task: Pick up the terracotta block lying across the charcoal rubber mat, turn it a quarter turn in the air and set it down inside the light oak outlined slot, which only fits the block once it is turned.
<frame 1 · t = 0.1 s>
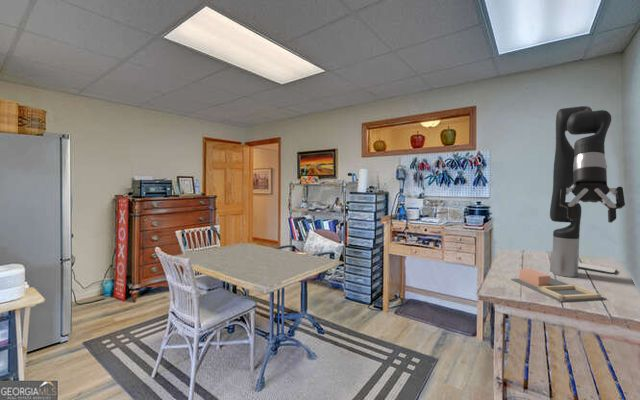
hand: (590, 221, 87), 31 cm above the table, tool tilted 20°, fingers open, 8 cm apart
mat: (554, 288, 117), on the table
terracotta block: (534, 283, 123), resting on mat
phone case: (592, 270, 142), on the table
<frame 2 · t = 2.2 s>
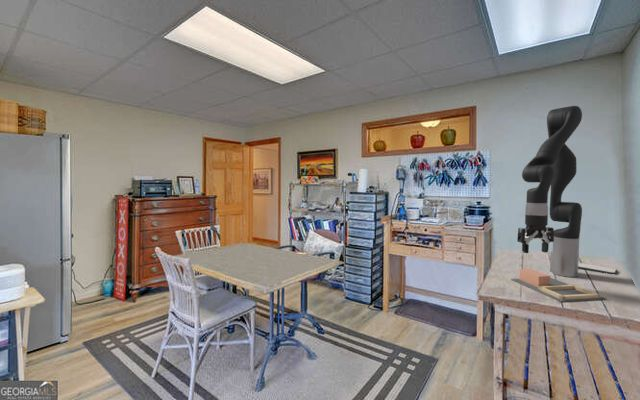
hand: (535, 252, 122), 13 cm above the table, tool pointing down, fingers open, 8 cm apart
nothing on the table moved.
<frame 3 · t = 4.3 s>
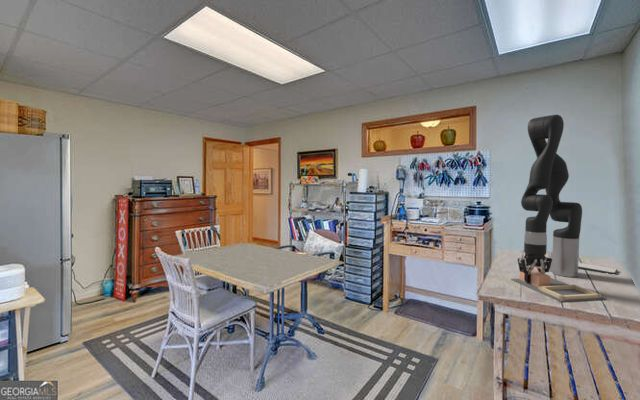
hand: (533, 282, 123), 1 cm above the table, tool pointing down, fingers closed on terracotta block, 5 cm apart
terracotta block: (534, 283, 123), resting on mat, touching gripper
everything else where it was.
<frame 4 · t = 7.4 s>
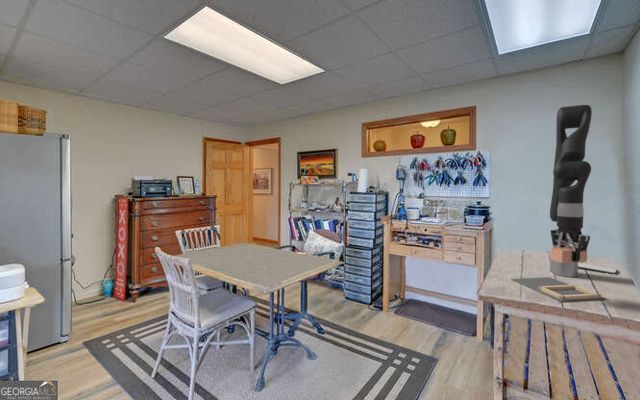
hand: (568, 259, 111), 13 cm above the table, tool pointing down, fingers closed on terracotta block, 5 cm apart
terracotta block: (568, 260, 111), point 13 cm above the table, touching gripper
everything else where it was.
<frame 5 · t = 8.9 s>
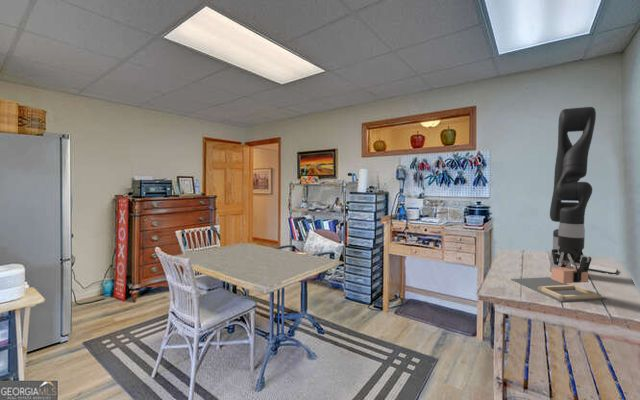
hand: (569, 279, 111), 6 cm above the table, tool pointing down, fingers closed on terracotta block, 5 cm apart
terracotta block: (569, 280, 111), point 5 cm above the table, touching gripper
everything else where it was.
when the fingers open (3 cm above the table, at t = 10.4 s): terracotta block drops 2 cm, resting on mat.
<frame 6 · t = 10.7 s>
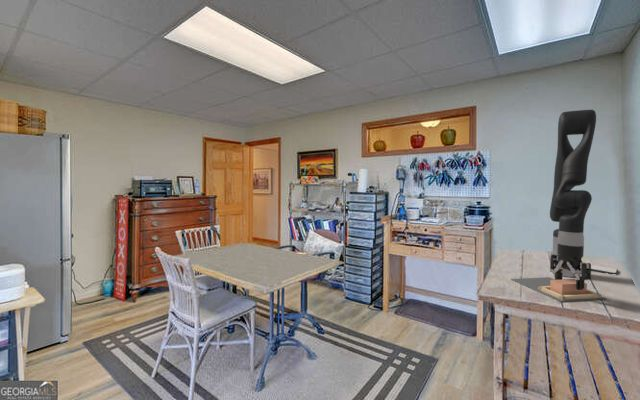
hand: (568, 285, 111), 3 cm above the table, tool pointing down, fingers open, 8 cm apart
terracotta block: (567, 293, 112), resting on mat
everything else where it was.
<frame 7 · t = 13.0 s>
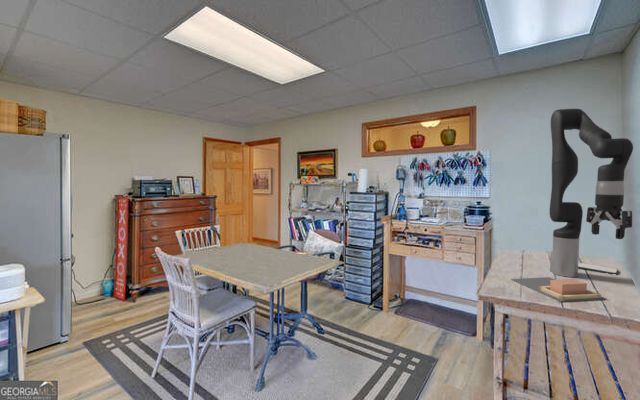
hand: (606, 236, 110), 22 cm above the table, tool pointing down, fingers open, 8 cm apart
nothing on the table moved.
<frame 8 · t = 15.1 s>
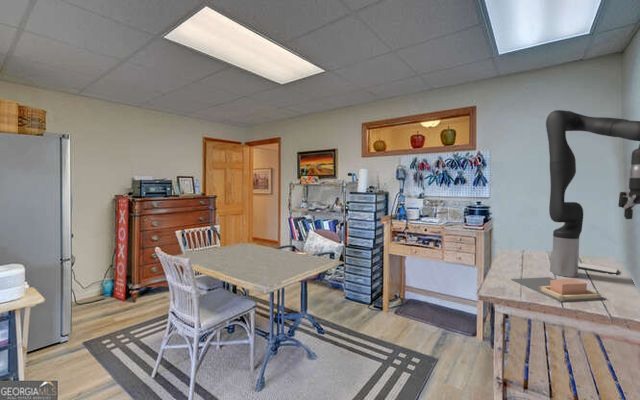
nothing on the table moved.
at the end: terracotta block 0.2 cm from the target spot on the mat, point 0.4 cm above the mat's base; terracotta block tilted 0° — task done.
